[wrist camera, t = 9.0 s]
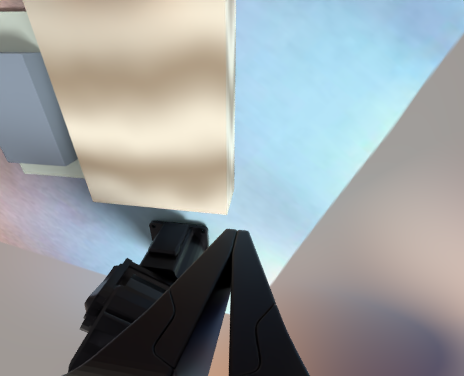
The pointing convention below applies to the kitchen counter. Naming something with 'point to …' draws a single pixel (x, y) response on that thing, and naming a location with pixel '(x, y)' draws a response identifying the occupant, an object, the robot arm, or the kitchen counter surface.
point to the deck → (146, 96)
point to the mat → (23, 40)
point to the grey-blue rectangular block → (31, 113)
